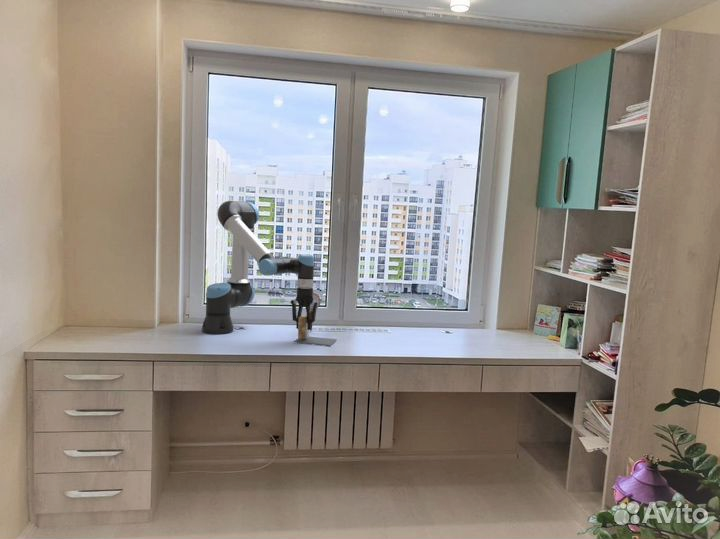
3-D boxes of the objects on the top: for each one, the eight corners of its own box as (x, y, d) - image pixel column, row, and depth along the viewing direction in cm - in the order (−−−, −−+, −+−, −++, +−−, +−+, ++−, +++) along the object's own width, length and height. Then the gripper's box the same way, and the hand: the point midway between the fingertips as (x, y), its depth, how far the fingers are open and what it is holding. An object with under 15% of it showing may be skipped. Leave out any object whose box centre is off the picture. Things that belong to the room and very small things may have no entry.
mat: (293, 342, 245) (293, 341, 245) (301, 336, 257) (301, 335, 257) (330, 346, 242) (330, 345, 242) (336, 340, 254) (336, 339, 253)
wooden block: (297, 338, 246) (298, 317, 245) (302, 335, 253) (303, 314, 252) (304, 338, 246) (304, 318, 244) (308, 335, 252) (309, 315, 251)
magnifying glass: (319, 331, 271) (320, 293, 269) (319, 331, 269) (321, 293, 267) (302, 330, 270) (304, 292, 267) (302, 331, 268) (304, 293, 266)
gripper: (286, 287, 245) (284, 336, 247) (319, 289, 241) (317, 339, 244) (291, 285, 252) (289, 332, 254) (323, 287, 249) (321, 335, 251)
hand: (303, 335), depth 249 cm, fingers closed on wooden block, 3 cm apart
